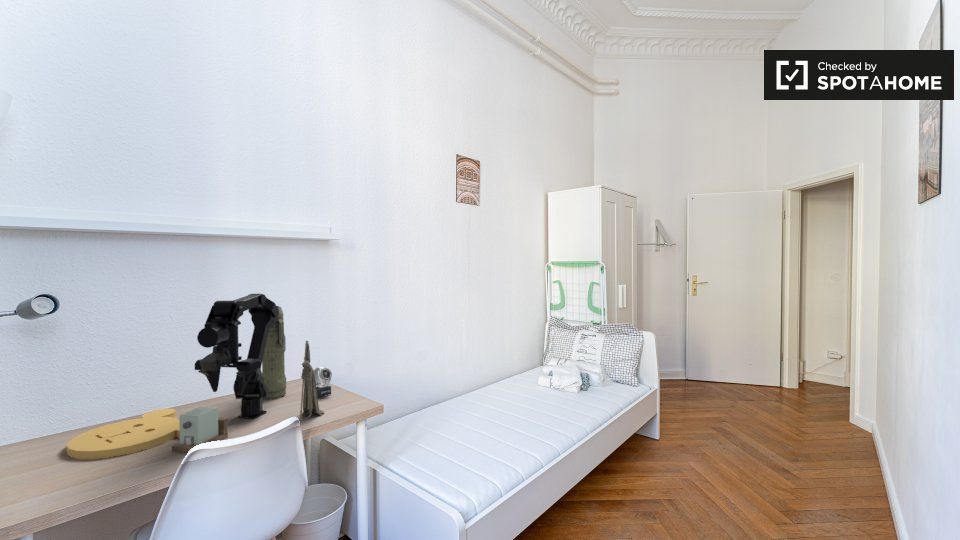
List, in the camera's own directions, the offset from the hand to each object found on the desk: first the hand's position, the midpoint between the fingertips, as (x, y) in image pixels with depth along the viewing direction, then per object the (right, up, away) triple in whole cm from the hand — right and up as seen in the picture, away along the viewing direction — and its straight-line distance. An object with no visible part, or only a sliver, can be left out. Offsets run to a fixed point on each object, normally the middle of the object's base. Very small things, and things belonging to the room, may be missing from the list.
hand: (228, 392), depth 131 cm
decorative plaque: (-25, -13, -4) cm, 29 cm away
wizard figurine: (+19, -12, +15) cm, 27 cm away
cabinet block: (-3, -11, -10) cm, 14 cm away
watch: (+15, -12, +36) cm, 41 cm away
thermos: (-4, -12, +36) cm, 38 cm away
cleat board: (-3, -12, -9) cm, 15 cm away
